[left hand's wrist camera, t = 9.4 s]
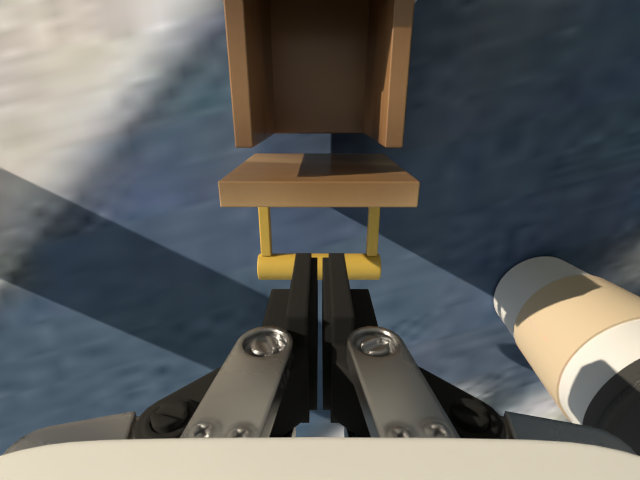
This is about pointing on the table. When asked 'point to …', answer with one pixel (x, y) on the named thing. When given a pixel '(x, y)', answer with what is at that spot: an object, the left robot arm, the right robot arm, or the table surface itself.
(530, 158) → the table surface
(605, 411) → the coffee cup
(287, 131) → the drawer
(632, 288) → the table surface
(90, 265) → the table surface
